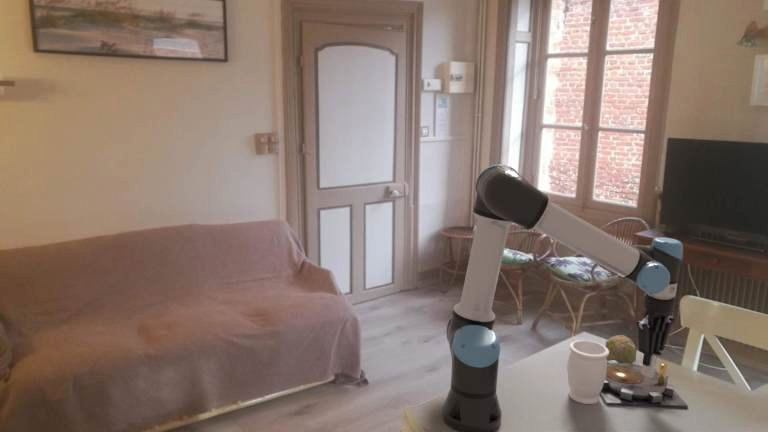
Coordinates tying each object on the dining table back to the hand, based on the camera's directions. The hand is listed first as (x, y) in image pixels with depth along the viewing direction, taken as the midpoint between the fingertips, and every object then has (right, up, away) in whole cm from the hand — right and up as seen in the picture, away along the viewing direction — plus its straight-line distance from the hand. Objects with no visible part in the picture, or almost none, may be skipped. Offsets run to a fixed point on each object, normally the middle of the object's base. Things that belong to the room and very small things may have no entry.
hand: (647, 375), depth 165 cm
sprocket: (-1, -4, +8) cm, 9 cm away
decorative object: (+2, -2, +26) cm, 26 cm away
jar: (-17, -7, +2) cm, 19 cm away
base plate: (-1, -6, +8) cm, 10 cm away
